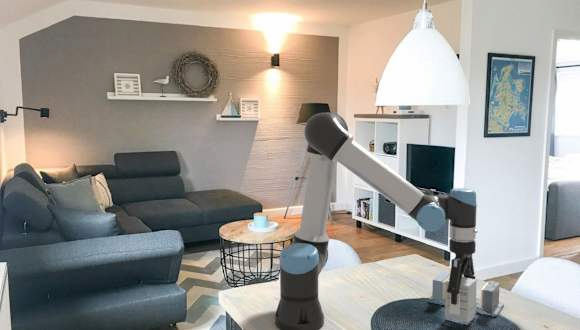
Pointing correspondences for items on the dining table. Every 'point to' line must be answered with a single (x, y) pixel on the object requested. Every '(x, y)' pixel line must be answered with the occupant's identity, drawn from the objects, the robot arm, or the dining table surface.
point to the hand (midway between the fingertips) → (461, 306)
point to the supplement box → (463, 300)
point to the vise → (489, 298)
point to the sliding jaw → (440, 286)
